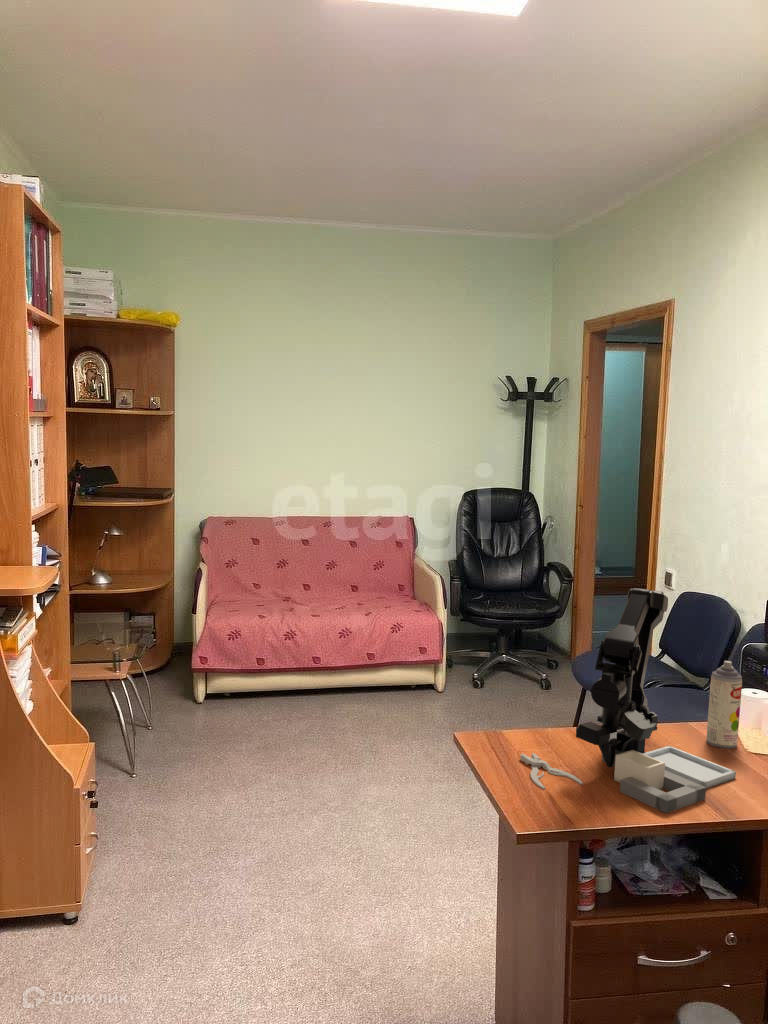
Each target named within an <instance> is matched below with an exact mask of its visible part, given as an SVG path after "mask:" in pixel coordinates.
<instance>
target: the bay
mask: <svg viewBox="0 0 768 1024" xmlns="http://www.w3.org/2000/svg"><path fill="white" fill-rule="evenodd" d="M619 785H620V786H619V793H622V794H624V795H626V796H628V797H631V798H632V799H634V800H636V801H638V802H641V803H643V804H646V805H647V806H649V807H652V808H654V809H656V810H658V811H660V812H662V813H664V812H665V813H664V814H666V813H667V814H669V812H670V813H672V812H674V810H675V811H678V810H680V809H683V808H686V807H688V805H689V806H691V805H693V804H696V803H697V804H698V802H702V801H705V800H706V794H707V793H706V791H707V789H706V787H704V786H701V785H699V784H697V783H694V782H692V781H690V780H687V779H685V778H682V777H680V776H678V775H675V774H673V773H671V772H668V771H666V770H665V771H664V785H663V789H664V790H667V792H665V791H664V790H662V789H661V790H659V789H657V788H654V787H652V786H650V785H648V784H645V783H643V782H641V781H639V780H637V779H634V778H632V777H628V778H624V779H621V781H620V783H619ZM685 806H686V807H685ZM682 807H683V808H682ZM677 809H678V810H677ZM671 811H672V812H671Z"/></svg>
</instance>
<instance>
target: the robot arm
mask: <svg viewBox="0 0 768 1024" xmlns="http://www.w3.org/2000/svg"><path fill="white" fill-rule="evenodd" d="M668 597H669V596H667V595H666V594H664V592H663V591H661V590H652V589H651V590H650V589H646V588H638V587H637V588H636V587H633V588H630V589H628V591H627V599H626V605H625V607H624V610H623V611H622V612H623V613H622V615H621V617H620V620H619V622H618V625H616V627H614V628H611V629H610V630H608V632H607V634H606V635H605V637H604V639H602V641H600V642H601V643H600V647H599V650H598V655H597V658H596V661H595V662H596V663H595V667H594V669H595V671H600V672H601V677H600V678H599V679H598V680H597V681H596V682H594V683H593V684H592V686H591V689H590V694H591V695H590V696H591V698H592V700H593V702H594V703H595V704H596V705H597V706H598V707H601V708H602V710H601V715H598V716H597V720H596V721H597V722H599V723H601V724H598V723H594V722H592V721H588V722H584V723H580V724H579V725H577V726H576V727H575V738H577V739H580V740H581V741H582V740H583V741H584V742H587V743H590V744H592V745H594V746H598V748H599V750H600V752H601V755H603V758H604V760H605V762H604V763H605V764H606V767H608V768H609V769H610V768H611V769H612V768H613V761H614V754H615V749H616V750H619V751H621V752H627V751H630V750H635V751H637V752H640V753H642V754H643V753H646V752H647V751H646V750H645V749H646V739H647V740H648V739H650V738H651V735H652V734H653V732H655V731H657V730H658V724H659V723H658V722H659V721H658V715H657V714H656V713H655V712H654V711H650V709H649V706H648V699H647V697H646V694H645V692H644V684H645V677H646V673H647V668H648V662H649V656H650V652H651V645H652V640H653V635H654V634H653V633H654V629H655V628H657V626H659V625H660V624H661V622H662V621H663V619H664V615H665V613H666V612H667V610H668V607H669V598H668ZM604 661H605V662H604Z"/></svg>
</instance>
